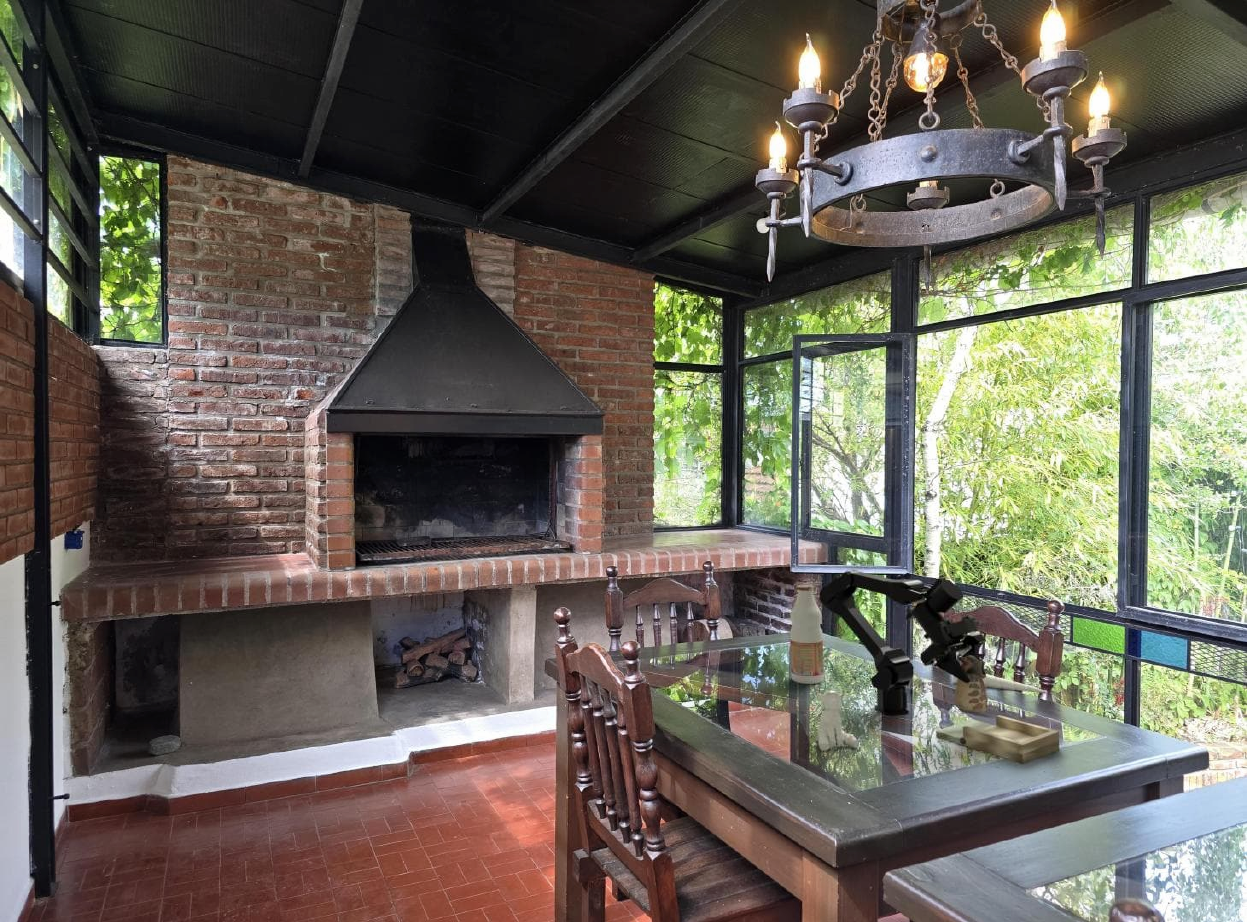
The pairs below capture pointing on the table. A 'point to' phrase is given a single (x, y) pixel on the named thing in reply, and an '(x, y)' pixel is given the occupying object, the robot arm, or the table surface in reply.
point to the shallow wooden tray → (1004, 738)
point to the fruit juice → (806, 638)
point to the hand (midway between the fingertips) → (976, 680)
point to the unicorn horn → (1005, 684)
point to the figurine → (971, 687)
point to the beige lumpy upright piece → (833, 724)
